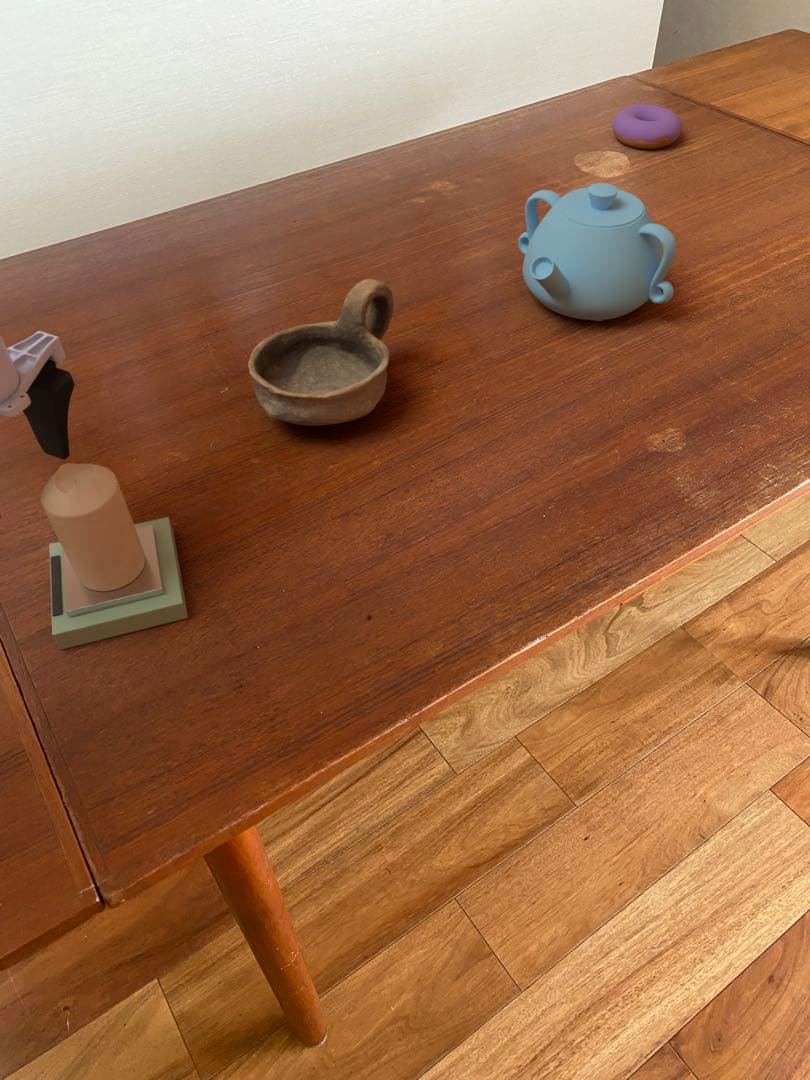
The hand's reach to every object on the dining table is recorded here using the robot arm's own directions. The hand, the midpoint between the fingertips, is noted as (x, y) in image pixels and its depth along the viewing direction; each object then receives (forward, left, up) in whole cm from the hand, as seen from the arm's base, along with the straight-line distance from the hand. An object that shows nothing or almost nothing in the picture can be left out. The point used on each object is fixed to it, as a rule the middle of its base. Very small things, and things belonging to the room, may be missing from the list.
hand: (24, 484), depth 67 cm
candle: (+6, 0, -7) cm, 9 cm away
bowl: (+10, +29, -10) cm, 33 cm away
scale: (+6, 0, -9) cm, 11 cm away
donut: (+22, +101, -10) cm, 104 cm away
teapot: (+27, +55, -10) cm, 63 cm away
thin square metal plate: (+6, 0, -7) cm, 10 cm away
